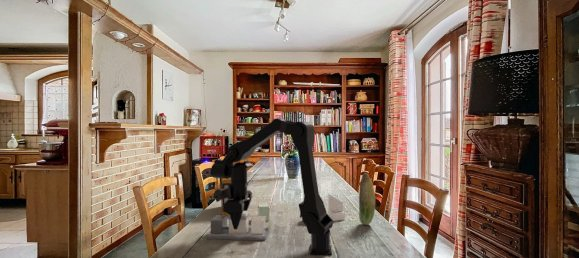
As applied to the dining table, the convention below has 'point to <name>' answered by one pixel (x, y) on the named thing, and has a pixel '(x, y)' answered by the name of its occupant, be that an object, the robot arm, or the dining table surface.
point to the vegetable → (366, 200)
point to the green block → (263, 210)
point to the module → (240, 224)
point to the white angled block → (335, 209)
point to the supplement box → (223, 185)
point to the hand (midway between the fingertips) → (238, 224)
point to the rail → (254, 233)
